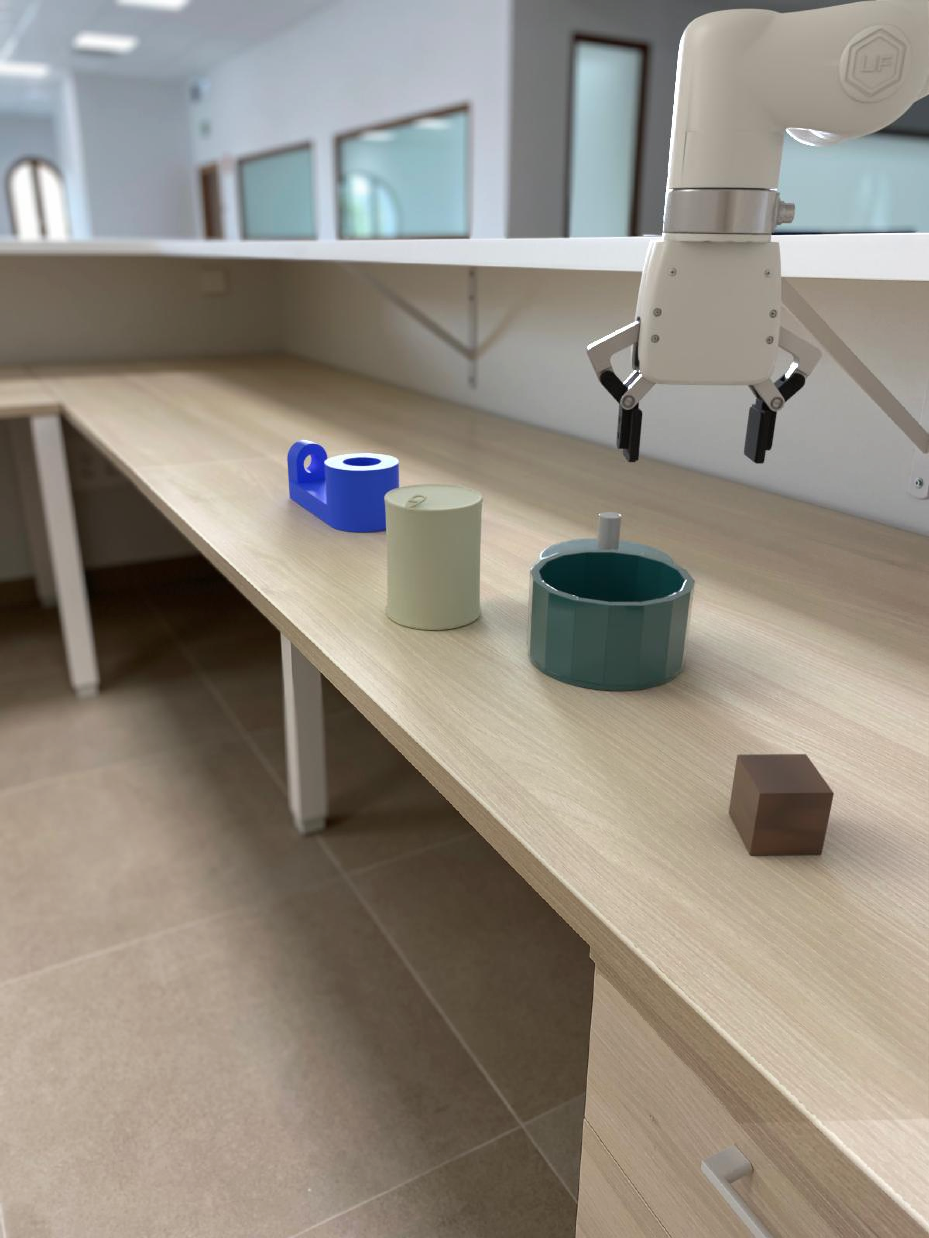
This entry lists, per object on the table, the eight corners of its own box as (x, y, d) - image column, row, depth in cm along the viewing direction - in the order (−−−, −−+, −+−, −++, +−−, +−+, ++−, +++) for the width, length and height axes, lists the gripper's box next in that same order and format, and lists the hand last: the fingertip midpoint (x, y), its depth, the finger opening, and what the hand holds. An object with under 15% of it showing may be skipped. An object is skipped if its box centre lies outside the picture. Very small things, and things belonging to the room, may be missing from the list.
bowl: (663, 624, 88) (671, 549, 85) (702, 690, 76) (713, 605, 73) (520, 624, 87) (523, 549, 85) (536, 691, 75) (540, 605, 72)
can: (366, 616, 89) (363, 494, 84) (421, 587, 96) (420, 474, 91) (447, 638, 84) (449, 510, 80) (498, 606, 92) (501, 487, 87)
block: (795, 812, 60) (806, 753, 58) (821, 854, 56) (834, 793, 54) (728, 812, 60) (736, 753, 58) (749, 855, 56) (760, 793, 54)
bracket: (413, 523, 116) (413, 463, 113) (351, 536, 111) (349, 474, 108) (333, 490, 131) (331, 436, 128) (275, 500, 125) (271, 444, 122)
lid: (656, 548, 109) (662, 497, 106) (688, 593, 95) (695, 536, 93) (532, 548, 108) (535, 496, 106) (547, 593, 95) (550, 535, 92)
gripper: (820, 221, 69) (786, 449, 76) (588, 218, 69) (575, 447, 76) (860, 221, 62) (819, 472, 69) (603, 218, 62) (587, 469, 69)
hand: (691, 459), depth 72 cm, fingers open, 9 cm apart
